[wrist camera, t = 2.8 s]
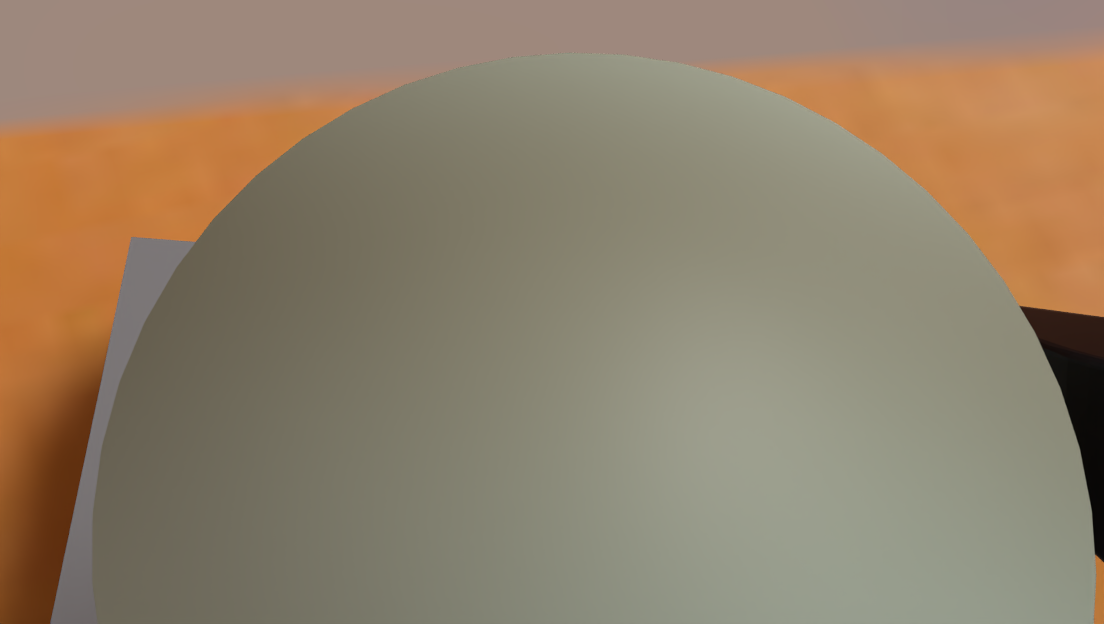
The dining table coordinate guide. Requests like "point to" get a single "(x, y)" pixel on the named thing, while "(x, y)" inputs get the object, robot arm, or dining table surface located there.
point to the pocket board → (137, 298)
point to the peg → (588, 379)
